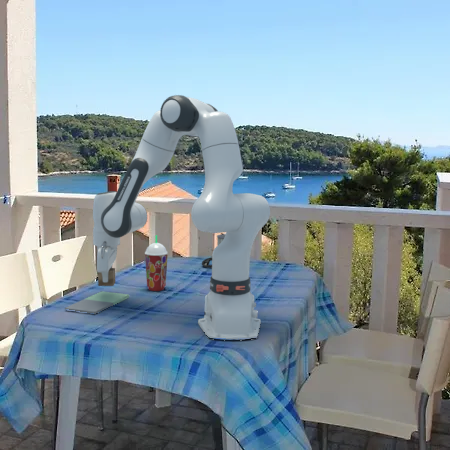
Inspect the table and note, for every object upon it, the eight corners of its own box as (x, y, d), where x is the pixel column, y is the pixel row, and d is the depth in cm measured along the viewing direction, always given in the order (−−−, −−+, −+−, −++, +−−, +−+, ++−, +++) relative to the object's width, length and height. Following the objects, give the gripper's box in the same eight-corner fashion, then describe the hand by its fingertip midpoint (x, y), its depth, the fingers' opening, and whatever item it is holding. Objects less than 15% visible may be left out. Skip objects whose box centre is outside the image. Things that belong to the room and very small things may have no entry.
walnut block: (113, 285, 193) (113, 271, 192) (98, 285, 193) (98, 271, 192) (115, 282, 198) (115, 268, 197) (100, 282, 198) (100, 267, 197)
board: (95, 315, 178) (95, 311, 178) (65, 311, 182) (64, 308, 182) (129, 297, 199) (129, 294, 199) (101, 294, 203) (101, 291, 202)
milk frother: (237, 273, 238) (238, 237, 236) (199, 272, 239) (200, 237, 237) (238, 265, 253) (238, 232, 250) (202, 264, 253) (202, 231, 251)
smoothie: (172, 289, 211) (172, 235, 208) (154, 293, 205) (154, 238, 202) (157, 285, 216) (157, 232, 213) (140, 289, 210) (139, 235, 207)
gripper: (111, 245, 183) (112, 287, 185) (119, 234, 203) (120, 272, 205) (91, 245, 182) (92, 287, 185) (101, 234, 203) (102, 272, 205)
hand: (107, 279), depth 195 cm, fingers closed on walnut block, 5 cm apart
